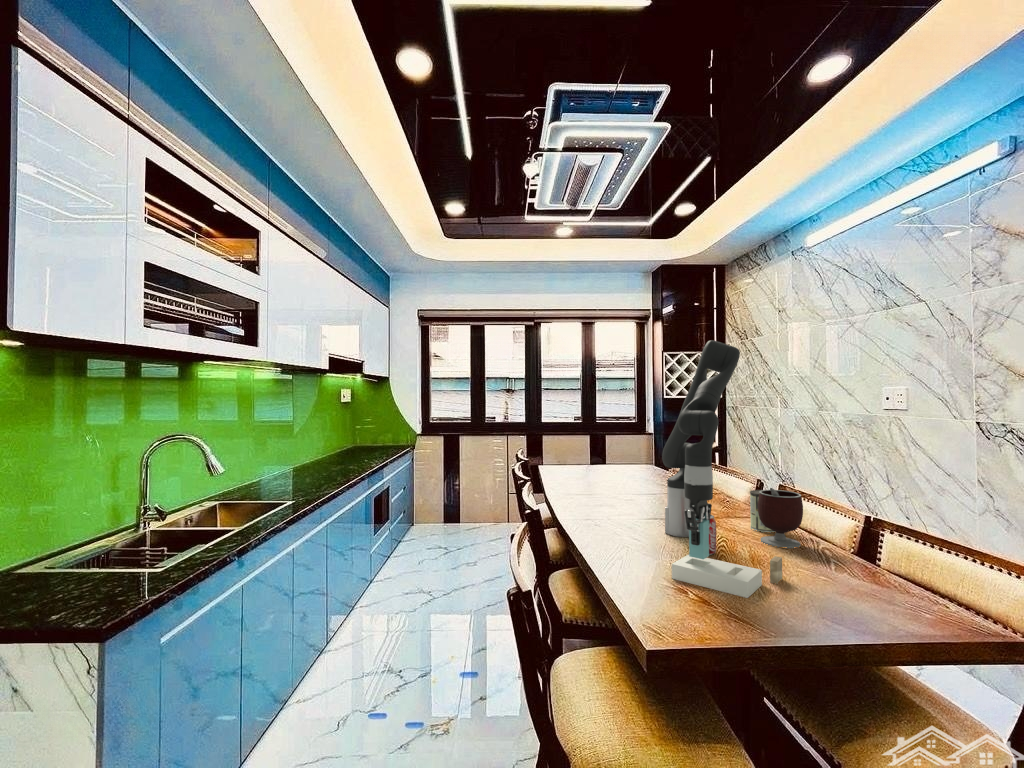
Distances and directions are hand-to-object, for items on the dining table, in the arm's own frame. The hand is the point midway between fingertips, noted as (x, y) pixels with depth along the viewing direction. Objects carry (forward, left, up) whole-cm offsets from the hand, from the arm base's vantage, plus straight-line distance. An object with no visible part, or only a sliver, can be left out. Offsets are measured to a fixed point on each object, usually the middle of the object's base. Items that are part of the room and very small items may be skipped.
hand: (698, 542), depth 143 cm
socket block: (+5, 0, -10) cm, 11 cm away
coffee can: (-1, +67, -10) cm, 68 cm away
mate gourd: (+8, +51, -10) cm, 52 cm away
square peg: (0, 0, -4) cm, 4 cm away
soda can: (-7, +23, -10) cm, 26 cm away
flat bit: (+17, +12, -10) cm, 23 cm away
